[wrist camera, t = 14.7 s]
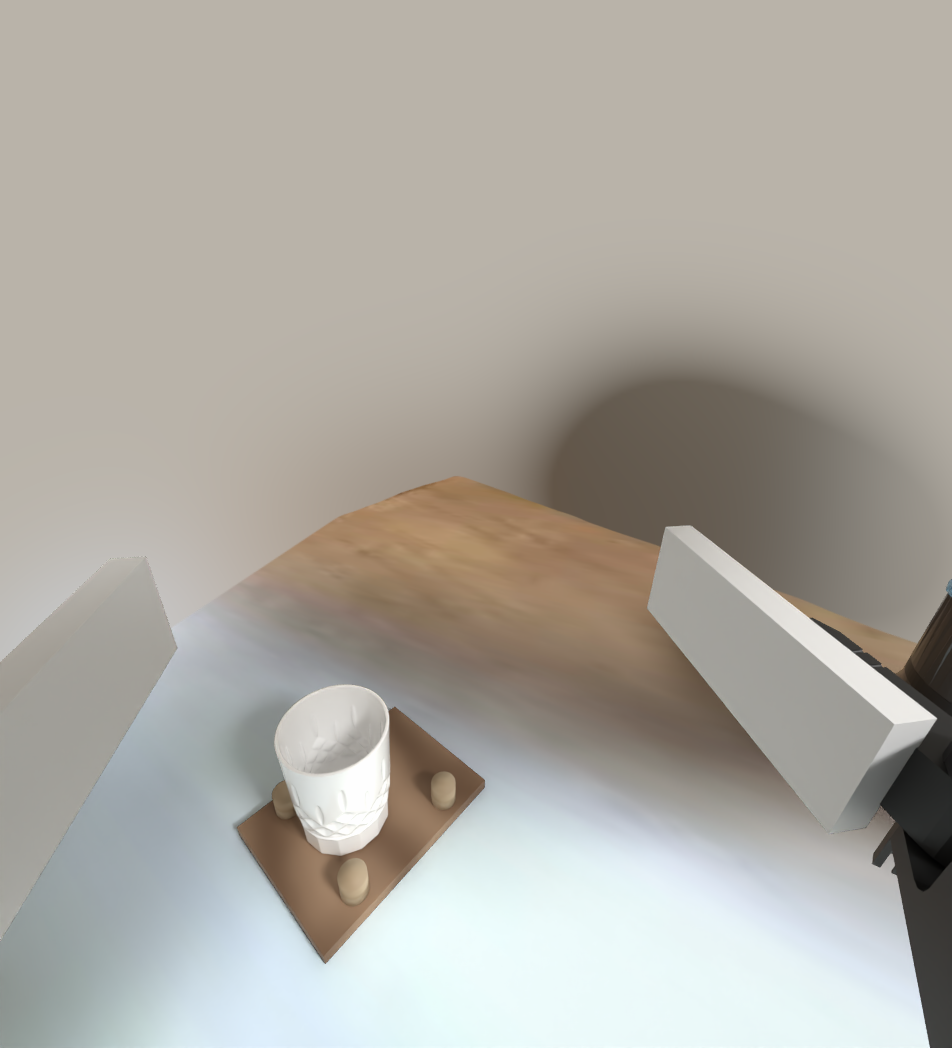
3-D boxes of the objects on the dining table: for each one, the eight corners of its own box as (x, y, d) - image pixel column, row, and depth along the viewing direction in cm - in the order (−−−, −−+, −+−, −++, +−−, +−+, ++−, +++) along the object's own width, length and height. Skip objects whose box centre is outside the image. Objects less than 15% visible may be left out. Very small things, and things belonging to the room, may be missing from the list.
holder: (395, 713, 48) (393, 692, 46) (484, 787, 41) (485, 764, 40) (239, 834, 37) (231, 811, 36) (325, 963, 30) (319, 940, 29)
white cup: (273, 827, 36) (249, 739, 32) (348, 752, 43) (336, 670, 38) (346, 889, 33) (329, 799, 28) (416, 797, 39) (411, 712, 34)
